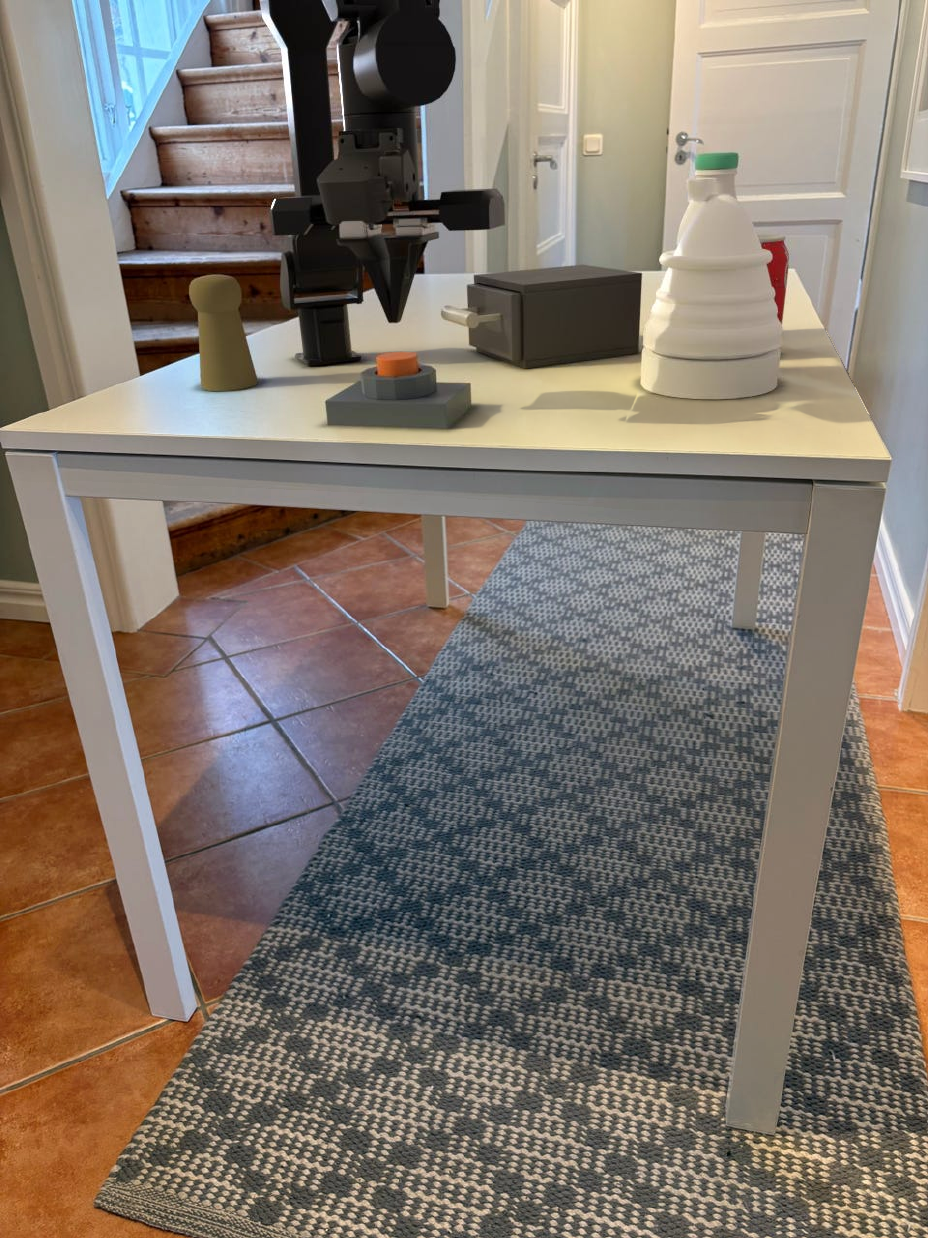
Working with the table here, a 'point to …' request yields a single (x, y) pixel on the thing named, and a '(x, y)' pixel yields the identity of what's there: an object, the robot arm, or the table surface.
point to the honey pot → (713, 308)
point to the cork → (221, 334)
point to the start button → (397, 364)
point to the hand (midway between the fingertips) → (394, 322)
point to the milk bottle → (714, 168)
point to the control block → (399, 401)
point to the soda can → (777, 268)
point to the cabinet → (573, 313)
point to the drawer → (491, 320)
